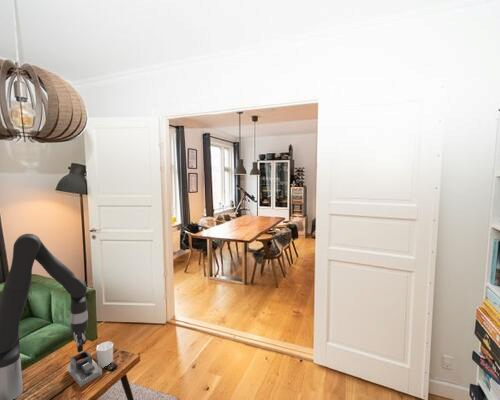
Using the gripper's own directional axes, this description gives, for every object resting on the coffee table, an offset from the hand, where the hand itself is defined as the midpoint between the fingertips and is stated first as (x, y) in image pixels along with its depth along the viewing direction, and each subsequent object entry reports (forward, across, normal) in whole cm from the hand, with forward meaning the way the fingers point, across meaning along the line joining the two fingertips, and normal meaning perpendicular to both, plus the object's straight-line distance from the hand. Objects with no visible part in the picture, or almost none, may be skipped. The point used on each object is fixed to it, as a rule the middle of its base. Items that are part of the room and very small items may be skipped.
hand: (80, 351), depth 136 cm
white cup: (+10, +5, +10) cm, 15 cm away
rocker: (+5, +8, 0) cm, 10 cm away
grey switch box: (+10, +4, 0) cm, 11 cm away
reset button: (+7, 0, 0) cm, 7 cm away
